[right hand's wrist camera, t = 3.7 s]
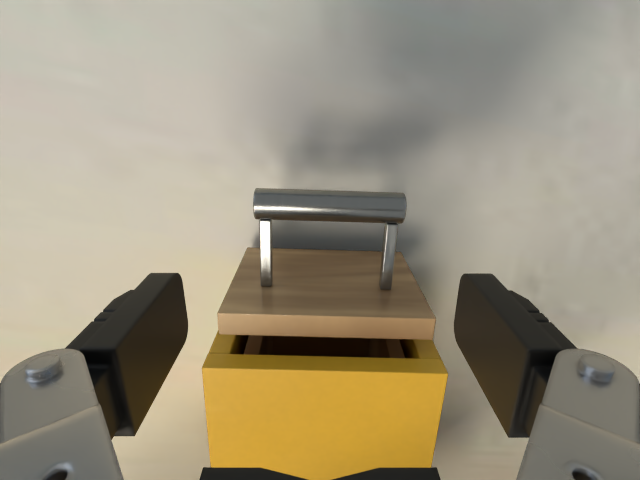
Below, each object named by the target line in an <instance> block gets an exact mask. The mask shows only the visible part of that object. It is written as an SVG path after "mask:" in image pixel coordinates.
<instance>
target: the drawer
mask: <svg viewBox="0 0 640 480" xmlns="http://www.w3.org/2000/svg"><path fill="white" fill-rule="evenodd" d="M253 212H254V217H255V219H260V221H259V235H260V248H247V250H246V252H245V254H244V256H243V259H242V261H241V263H240V265H239V267H238V269H237V272H236V274H235V276H234V278H233V280H232V283H231V285H230V287H229V289H228V291H227V293H226V296H225V298H224V300H223V302H222V304H221V307H220V309H219V311H218V313H217V315H218V329H219V334H223V335H249V337H248V341H247V344H246V348H245V351H244V354H246V355H287V356H328V357H368V358H405V356H404V353H403V350H402V347H401V344H400V341H399V339H419V340H432V339H433V334H434V328H435V322H436V318H435V316H434V314H433V312H432V310H431V309H430V307H429V305H428V303H427V301H426V299H425V297H424V295H423V293H422V291H421V289H420V288H419V286H418V284H417V282H416V280H415V278H414V276H413V274H412V272H411V270H410V268H409V267H408V265H407V263H406V261H405V259H404V257H403V255H402V253H401V252H395V250H396V241H397V232H398V224H397V223H403V222H404V219H405V215H406V197H405V194H404V193H394V192H362V191H331V190H299V189H268V188H256V189H255V191H254V198H253ZM272 220H302V221H335V222H368V223H385V226H384V237H383V247H382V252H381V251H346V250H312V249H278V248H272Z"/></svg>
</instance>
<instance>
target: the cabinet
mask: <svg viewBox="0 0 640 480" xmlns="http://www.w3.org/2000/svg"><path fill="white" fill-rule="evenodd" d="M248 337H249V335H223V334H219V330H218V332H217V334H216V337H215V339H214V342H213V344H212V346H211V349H210V351H209V353H208V355H207V357H206V360H205V362H204V364H203V367H202V374H203V385H204V397H205V408H206V419H207V430H208V441H209V453H210V464H211V468H264V469H268V470H272V471H276V472H280V473H284V474H288V475H292V476H296V477H300V478H304V479H308V480H332V479H336V478H340V477H344V476H348V475H352V474H356V473H360V472H364V471H368V470H372V469H376V468H431V465H432V460H433V454H434V449H435V443H436V438H437V432H438V427H439V421H440V416H441V410H442V405H443V399H444V394H445V389H446V383H447V378H448V372H447V370H446V368H445V366H444V364H443V362H442V360H441V358H440V356H439V353H438V351H437V349H436V347H435V345H434V343H433V340H419V339H399V341H400V344H401V347H402V350H403V353H404V356H405V358H368V357H328V356H287V355H246V354H244V351H245V348H246V344H247V341H248Z"/></svg>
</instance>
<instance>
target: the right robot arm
mask: <svg viewBox="0 0 640 480" xmlns="http://www.w3.org/2000/svg"><path fill="white" fill-rule="evenodd" d="M187 333H188V318H187V311H186V304H185V297H184V290H183V283H182V278H181V276H180V274H178V273H150V274H149V275H148V276H147V277H146V278H145V279H144V280H143V281H142V282H141V283H140V285H139V286H138V287H137V288H136V289H135V290H130V291H128V292H126V293H124V294H123V295H121V296H119V297H117V298H115V299H114V300H113V301H112V302H111V303H110V304H109V305H108V306H107V307H106V308H105V309H104V310H103V312H101V313H100V314H99V315H98V316H97V317H96V318H95V319H94V322H91V323H90V324H89V325H88V326H87V327H86V328H85V329H84V330H83V331H82V332H81V333H80V334H79V335H78V336H77V337H76V338H75V339H74V340H73V341H72V342H71V343H70V344H69V345H68V346H67V347H66V348H65V349H56V350H51V351H47V352H43V353H40V354H37V355H34V356H32V357H30V358H28V359H26V360H24V361H22V362H20V363H19V364H17V365H16V366H14V367H13V368H12V369H10V370H9V371H8V372H7V373H6V375H5V376H4V377H3V379H2V381H1V383H0V480H124V479H123V476H122V473H121V470H120V466H119V463H118V460H117V457H116V454H115V450H114V447H113V444H112V441H111V440H112V438H113V437H114V436H135V434H136V432H137V431H138V429H139V427H140V425H141V423H142V421H143V420H144V418H145V416H146V414H147V412H148V410H149V408H150V407H151V405H152V403H153V401H154V399H155V397H156V395H157V394H158V392H159V390H160V388H161V386H162V384H163V382H164V381H165V379H166V377H167V375H168V373H169V371H170V369H171V368H172V366H173V364H174V362H175V360H176V358H177V356H178V355H179V353H180V351H181V349H182V347H183V345H184V343H185V341H186V338H187ZM454 333H455V338H456V342H457V344H458V346H459V348H460V350H461V351H462V353H463V355H464V357H465V359H466V361H467V362H468V364H469V366H470V368H471V370H472V372H473V373H474V375H475V377H476V379H477V381H478V383H479V384H480V386H481V388H482V390H483V392H484V394H485V395H486V397H487V399H488V401H489V403H490V405H491V406H492V408H493V410H494V412H495V414H496V416H497V417H498V419H499V421H500V423H501V425H502V427H503V428H504V430H505V432H506V434H507V436H508V437H529V441H528V444H527V447H526V450H525V454H524V457H523V460H522V463H521V466H520V470H519V473H518V476H517V479H516V480H640V384H639V381H638V379H637V377H636V376H635V375H634V373H633V372H632V371H631V370H630V369H628V368H627V367H626V366H624V365H623V364H621V363H620V362H618V361H616V360H614V359H612V358H610V357H608V356H606V355H603V354H600V353H597V352H593V351H589V350H584V349H577V348H576V347H575V346H574V345H573V344H572V343H571V342H570V341H569V340H568V339H567V338H566V337H565V336H564V335H563V334H562V333H561V332H560V331H559V330H558V329H557V328H556V327H555V326H554V325H553V324H552V323H551V322H549V320H548V319H547V318H546V317H545V316H544V315H543V314H542V313H540V312H539V310H538V309H537V308H536V307H535V306H534V305H533V304H532V303H531V302H530V301H529V300H528V299H526V298H524V297H522V296H521V295H519V294H517V293H515V292H513V291H508V290H507V289H506V288H505V287H504V286H503V285H502V284H501V283H500V281H499V280H498V279H497V278H496V277H495V276H494V275H493V274H463V275H462V277H461V279H460V284H459V291H458V298H457V305H456V312H455V319H454ZM200 480H308V479H304V478H300V477H296V476H292V475H288V474H284V473H280V472H276V471H272V470H268V469H264V468H203V470H202V473H201V477H200ZM332 480H440V477H439V473H438V470H437V468H376V469H372V470H368V471H364V472H360V473H356V474H352V475H348V476H344V477H340V478H336V479H332Z"/></svg>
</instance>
